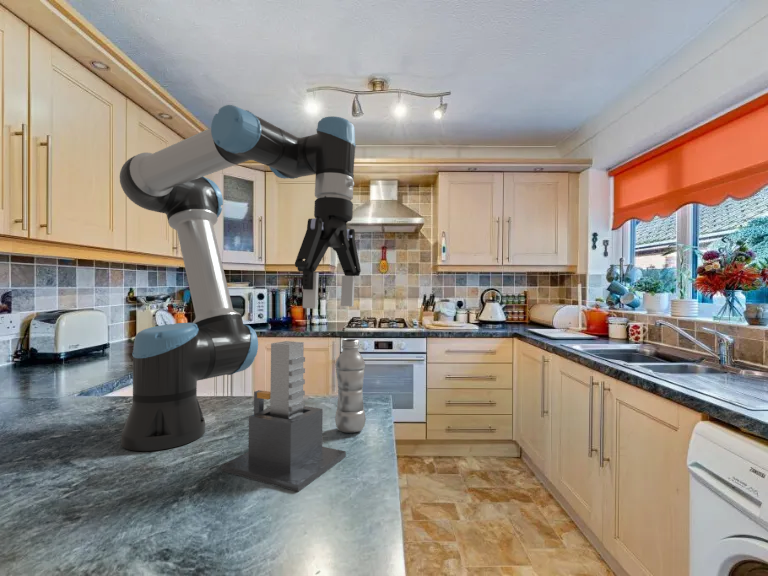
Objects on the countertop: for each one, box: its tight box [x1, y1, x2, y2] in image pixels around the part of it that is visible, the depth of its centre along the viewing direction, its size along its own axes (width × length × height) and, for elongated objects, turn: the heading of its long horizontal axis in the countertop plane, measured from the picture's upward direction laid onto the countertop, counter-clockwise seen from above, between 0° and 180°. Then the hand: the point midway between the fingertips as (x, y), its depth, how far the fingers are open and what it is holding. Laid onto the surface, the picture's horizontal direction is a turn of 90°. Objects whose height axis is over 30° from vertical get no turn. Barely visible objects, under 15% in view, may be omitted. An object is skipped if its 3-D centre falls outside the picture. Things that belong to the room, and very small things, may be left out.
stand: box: [221, 390, 347, 492], centre depth 68 cm, size 16×14×12 cm
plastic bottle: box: [334, 338, 366, 434], centre depth 84 cm, size 6×7×20 cm
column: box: [269, 340, 306, 420], centre depth 68 cm, size 5×4×20 cm
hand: (330, 307), depth 75 cm, fingers open, 13 cm apart
